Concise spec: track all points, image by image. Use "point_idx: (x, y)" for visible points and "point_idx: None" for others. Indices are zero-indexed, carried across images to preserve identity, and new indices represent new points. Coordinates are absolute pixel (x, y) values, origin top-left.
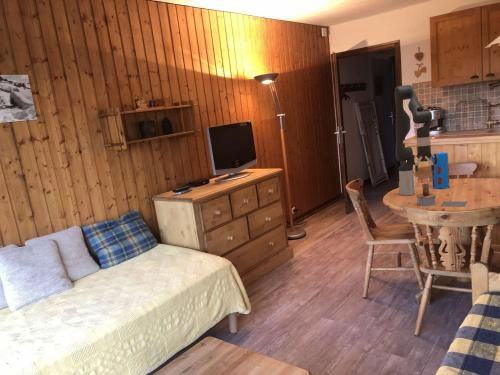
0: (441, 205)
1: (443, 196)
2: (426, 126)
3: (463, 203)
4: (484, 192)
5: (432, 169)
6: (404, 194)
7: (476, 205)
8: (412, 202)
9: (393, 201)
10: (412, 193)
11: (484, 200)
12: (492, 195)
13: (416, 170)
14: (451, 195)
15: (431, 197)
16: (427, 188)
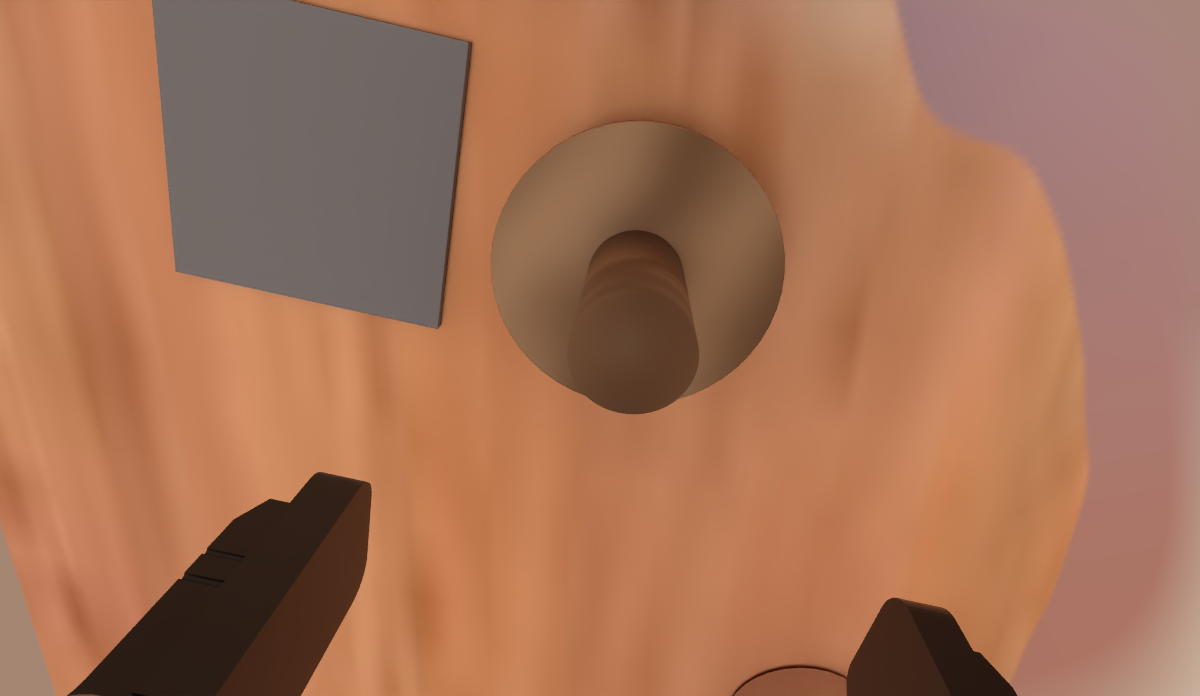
0: (451, 99)
1: (455, 567)
2: None
3: (202, 176)
4: (117, 631)
5: (295, 513)
6: (837, 683)
7: (54, 90)
8: (795, 370)
9: (1011, 458)
10: (753, 693)
11: (36, 331)
12: (22, 517)
13: (960, 635)
14: (383, 589)
15: (558, 146)
16: (602, 275)
